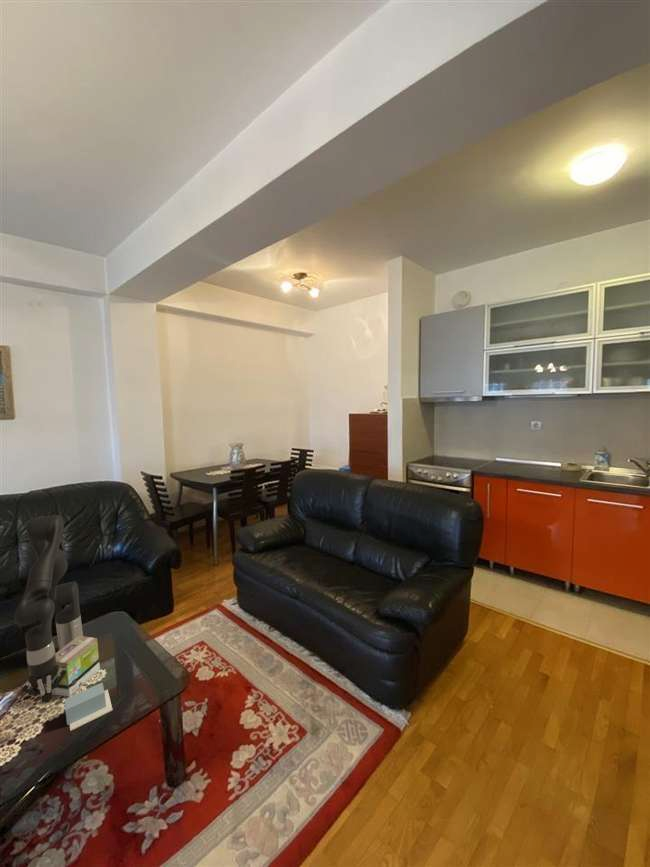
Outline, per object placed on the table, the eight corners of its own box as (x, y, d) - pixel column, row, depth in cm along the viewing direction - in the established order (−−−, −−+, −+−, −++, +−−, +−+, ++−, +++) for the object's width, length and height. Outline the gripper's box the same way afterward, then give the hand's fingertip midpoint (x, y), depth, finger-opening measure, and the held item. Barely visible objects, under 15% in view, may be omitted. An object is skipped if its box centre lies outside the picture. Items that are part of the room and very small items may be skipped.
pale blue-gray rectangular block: (64, 699, 134) (102, 682, 141) (66, 713, 134) (104, 696, 142) (65, 710, 129) (104, 692, 136) (67, 725, 130) (106, 706, 137)
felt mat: (68, 708, 137) (68, 707, 137) (107, 690, 145) (107, 689, 145) (70, 731, 128) (70, 730, 128) (112, 710, 136) (112, 709, 136)
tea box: (70, 697, 142) (66, 663, 140) (49, 694, 144) (44, 660, 142) (101, 668, 157) (97, 637, 155) (81, 666, 159) (77, 634, 157)
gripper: (64, 642, 133) (69, 685, 135) (17, 659, 125) (23, 704, 127) (65, 653, 127) (71, 698, 129) (16, 672, 119) (23, 719, 121)
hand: (47, 701), depth 128 cm, fingers closed
